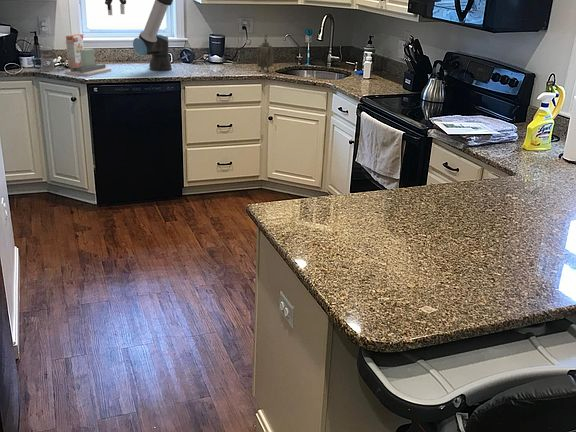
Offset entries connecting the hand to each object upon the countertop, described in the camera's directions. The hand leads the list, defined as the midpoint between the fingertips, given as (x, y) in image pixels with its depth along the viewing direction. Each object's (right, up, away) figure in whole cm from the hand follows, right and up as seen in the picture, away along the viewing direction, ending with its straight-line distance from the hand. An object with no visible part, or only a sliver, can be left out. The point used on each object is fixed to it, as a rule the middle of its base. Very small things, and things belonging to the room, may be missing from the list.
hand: (116, 14), depth 422 cm
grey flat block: (-15, -42, -13) cm, 46 cm away
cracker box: (-29, -34, +5) cm, 45 cm away
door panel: (-15, -40, -14) cm, 45 cm away
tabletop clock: (+100, -35, +18) cm, 107 cm away
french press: (-40, -41, -13) cm, 59 cm away
